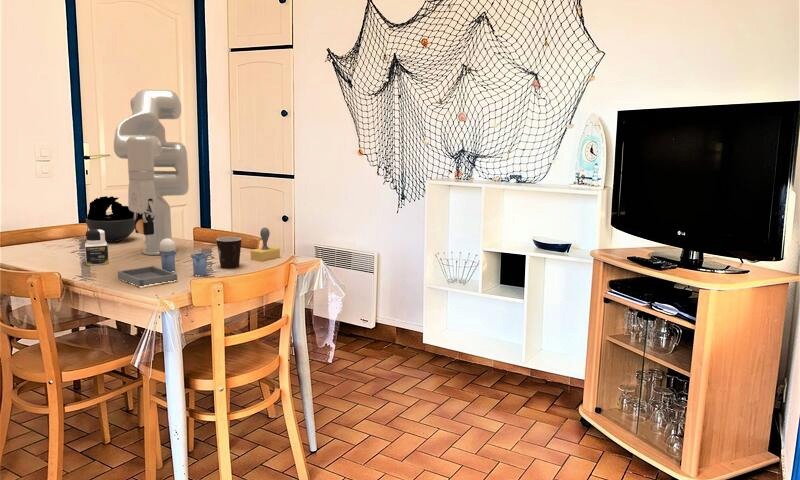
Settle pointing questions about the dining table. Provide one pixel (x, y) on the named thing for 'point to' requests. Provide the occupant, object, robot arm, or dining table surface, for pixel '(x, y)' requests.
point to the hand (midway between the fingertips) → (144, 233)
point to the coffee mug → (229, 252)
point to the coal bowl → (110, 218)
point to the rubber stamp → (265, 249)
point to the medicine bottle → (96, 248)
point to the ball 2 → (167, 245)
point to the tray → (146, 275)
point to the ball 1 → (140, 226)
